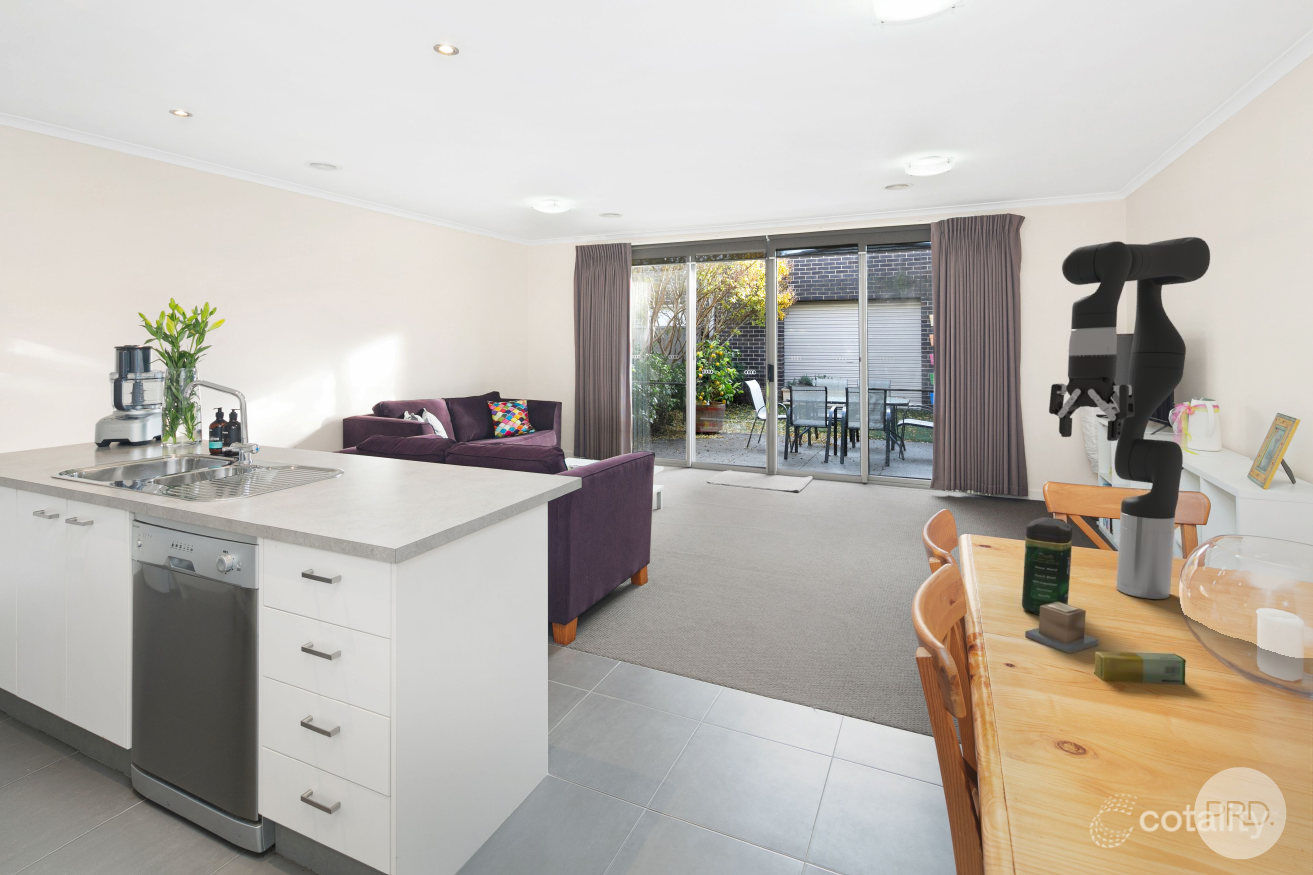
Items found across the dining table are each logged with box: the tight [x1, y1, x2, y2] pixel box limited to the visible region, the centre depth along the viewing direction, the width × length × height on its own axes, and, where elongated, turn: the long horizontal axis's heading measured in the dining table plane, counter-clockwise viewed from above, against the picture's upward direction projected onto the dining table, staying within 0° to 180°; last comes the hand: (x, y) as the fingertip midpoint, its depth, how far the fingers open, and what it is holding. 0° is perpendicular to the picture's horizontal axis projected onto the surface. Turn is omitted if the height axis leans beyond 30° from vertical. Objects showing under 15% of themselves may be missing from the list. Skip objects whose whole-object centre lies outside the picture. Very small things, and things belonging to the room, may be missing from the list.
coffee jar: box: [1021, 516, 1073, 615], centre depth 129 cm, size 10×8×19 cm
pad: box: [1024, 627, 1099, 655], centre depth 115 cm, size 8×8×1 cm
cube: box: [1038, 602, 1087, 643], centre depth 114 cm, size 5×5×5 cm
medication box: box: [1093, 651, 1187, 685], centre depth 100 cm, size 12×3×4 cm, turn 83°
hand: (1088, 438), depth 122 cm, fingers open, 8 cm apart
